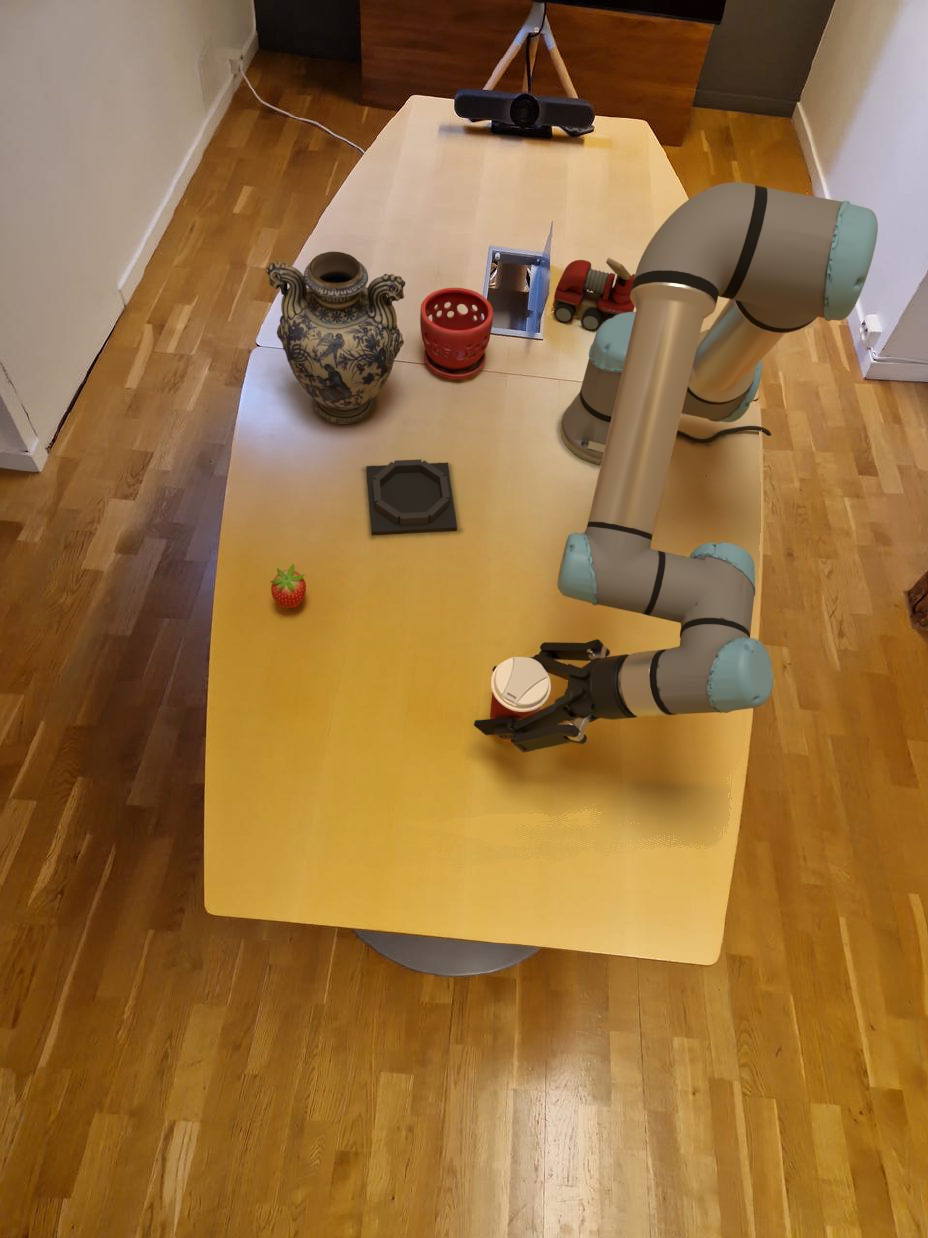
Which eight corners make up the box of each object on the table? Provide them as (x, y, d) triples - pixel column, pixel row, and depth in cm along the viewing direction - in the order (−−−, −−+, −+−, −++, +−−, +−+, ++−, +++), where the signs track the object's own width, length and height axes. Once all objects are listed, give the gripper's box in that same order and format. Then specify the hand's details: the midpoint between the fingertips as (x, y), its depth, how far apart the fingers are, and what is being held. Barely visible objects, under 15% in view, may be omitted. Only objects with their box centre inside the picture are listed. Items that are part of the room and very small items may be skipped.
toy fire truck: (560, 294, 167) (576, 213, 152) (632, 316, 166) (656, 236, 150) (543, 328, 162) (559, 248, 147) (618, 351, 160) (642, 272, 145)
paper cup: (519, 759, 112) (533, 718, 100) (471, 730, 114) (480, 687, 102) (546, 715, 116) (563, 671, 104) (500, 688, 117) (511, 641, 105)
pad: (447, 466, 141) (448, 454, 139) (456, 530, 134) (458, 519, 132) (366, 469, 140) (365, 457, 137) (371, 535, 133) (371, 524, 130)
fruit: (310, 615, 124) (305, 587, 117) (275, 619, 123) (268, 591, 116) (307, 586, 127) (302, 557, 120) (273, 590, 126) (266, 560, 119)
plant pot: (500, 356, 157) (507, 303, 146) (463, 395, 150) (468, 343, 140) (443, 328, 159) (446, 274, 149) (405, 365, 153) (405, 312, 143)
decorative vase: (406, 371, 153) (409, 234, 129) (399, 445, 143) (401, 312, 119) (292, 362, 152) (273, 222, 128) (277, 436, 142) (253, 300, 118)
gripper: (632, 780, 92) (484, 782, 108) (666, 631, 102) (526, 652, 118) (597, 748, 88) (448, 755, 103) (636, 596, 98) (495, 623, 114)
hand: (490, 700), depth 111 cm, fingers closed on paper cup, 8 cm apart
